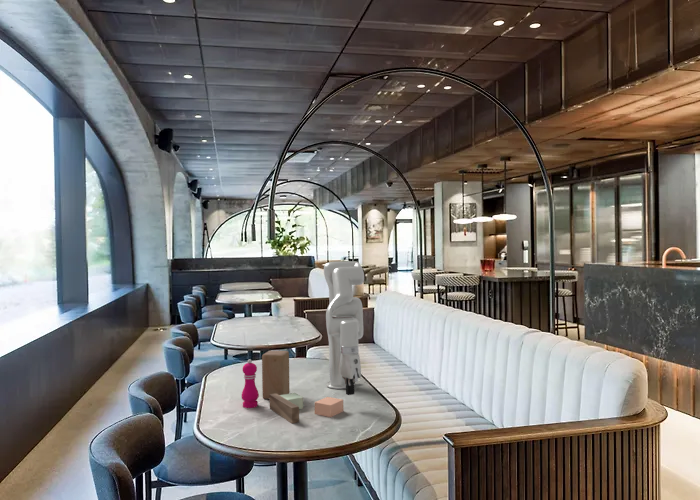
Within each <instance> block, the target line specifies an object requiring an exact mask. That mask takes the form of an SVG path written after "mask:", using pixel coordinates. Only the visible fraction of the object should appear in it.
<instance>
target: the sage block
mask: <svg viewBox="0 0 700 500" xmlns="http://www.w3.org/2000/svg"><path fill="white" fill-rule="evenodd" d="M280 396H281V397H283V398H285V399H287V400H288V401H290V402H292V403H293V404H295V405H297V406H299V410H302V409H304V397H303V396H302V395H300V394H298V393H297V392H291V393H289V394H284V395H280Z"/></svg>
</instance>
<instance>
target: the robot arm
mask: <svg viewBox="0 0 700 500" xmlns="http://www.w3.org/2000/svg"><path fill="white" fill-rule="evenodd" d="M323 275H324V279H325V282H326V284H327V287H328V296H329V297H328V299H329V302H328V303H329V304H328V306H327V308H326V312H325V321H326V322H325V325H326V332H327V337H328V338H327V339H328V349H329V350H328V352H329V353H328V359H329V367H328V368H329V369H328V370H329V371H328V372H329V381H327V382H326V387H327V388H329V389H333V390H334V389H335V390H336V389H337V390H343V389H345V395H348V396H352V395H355V385H356V383H358V382H359V379H361V377H362V364H361V358H360V354H359V340H361V339H362V338H363V336H364V313H363V311H364V309H363V303H362V300H361V299H360V298H359V297H357V296H355V297H354V291H353V286H360V285H363V284H364V281H365V273H364V269H363V267H362V265H361V264H360V262H359V261H354V260H352V261H345V260H344V261H343V260H342V261H329V262H326V263H325V264H324V266H323Z"/></svg>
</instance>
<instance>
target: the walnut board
mask: <svg viewBox="0 0 700 500" xmlns="http://www.w3.org/2000/svg"><path fill="white" fill-rule="evenodd" d="M269 398H270V399H269V410H271V411H273V412H274V413H275V414H277V416H280V417H281V418H282V419H284V420H285V421H288V422H289V423H291V424H296V423H299V422H300V409H299V406H297V405H295V404H293V403H292V402H290V401H288V400H287V399H285V398H283V397H281V396H280V395H278V394H276V393H275V394H269Z"/></svg>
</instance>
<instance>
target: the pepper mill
mask: <svg viewBox="0 0 700 500" xmlns="http://www.w3.org/2000/svg"><path fill="white" fill-rule="evenodd" d="M257 371H258V366H257V365H256V364H255V363H254V362H252V359H251V358H250V359H248V360H247V363H245V364H244V365H243V366H242V373H243V378H244V386H243V389H242V391H241V399H242V401H243V402H242V407H243V408H244V409H254V408H257V407H258V405H259V404H258V403H259V402H258V399H259V397H260V395H259V390H258V388H257V386H256V381H255V380H256V378H257V377H256V376H257V374H256V373H257Z"/></svg>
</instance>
